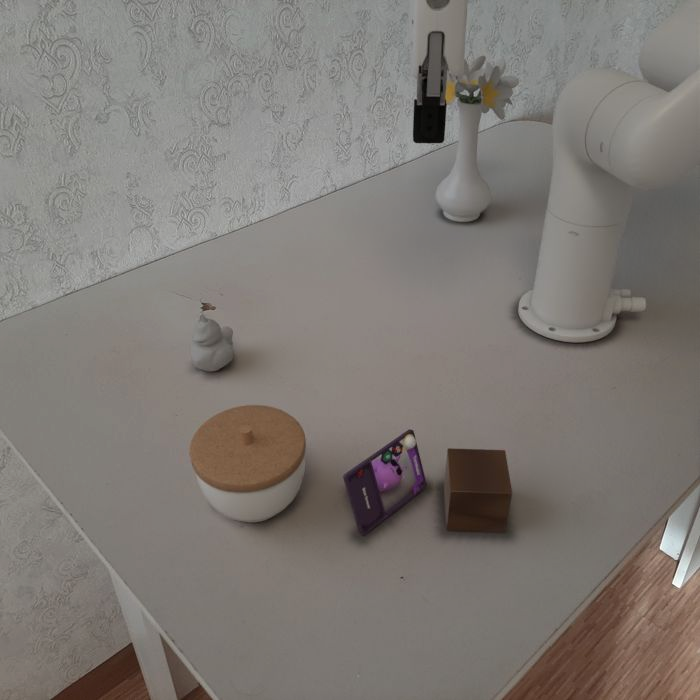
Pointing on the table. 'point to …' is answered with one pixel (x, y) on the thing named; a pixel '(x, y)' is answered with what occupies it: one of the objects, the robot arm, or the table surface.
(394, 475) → the game card
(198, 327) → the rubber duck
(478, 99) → the flower vase
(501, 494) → the walnut block
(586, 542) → the table surface
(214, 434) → the trinket box
